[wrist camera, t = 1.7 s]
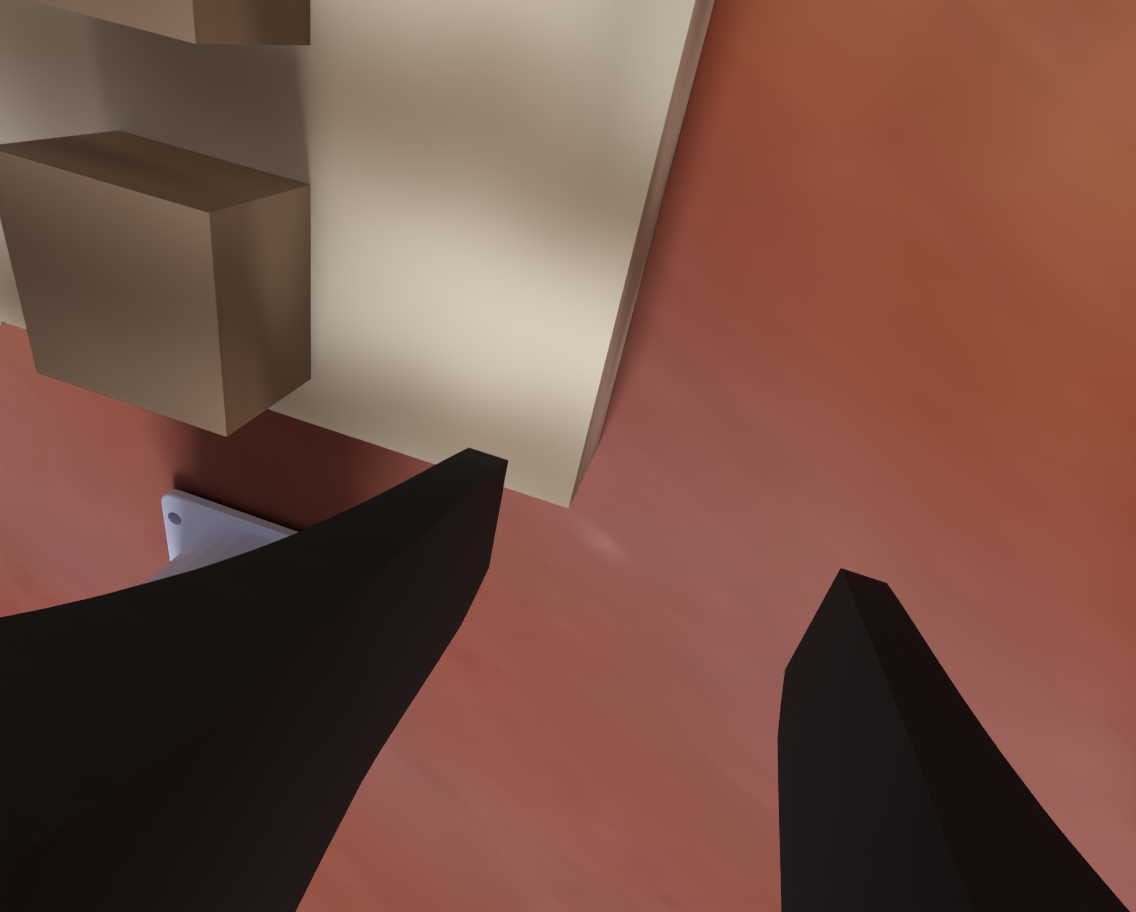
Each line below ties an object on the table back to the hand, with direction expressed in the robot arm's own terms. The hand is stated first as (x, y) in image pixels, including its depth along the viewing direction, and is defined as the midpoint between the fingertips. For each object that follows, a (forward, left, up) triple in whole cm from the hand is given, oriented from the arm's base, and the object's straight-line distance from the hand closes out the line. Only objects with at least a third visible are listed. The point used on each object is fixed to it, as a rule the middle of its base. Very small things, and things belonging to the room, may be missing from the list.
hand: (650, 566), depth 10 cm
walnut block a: (0, +11, -5) cm, 12 cm away
